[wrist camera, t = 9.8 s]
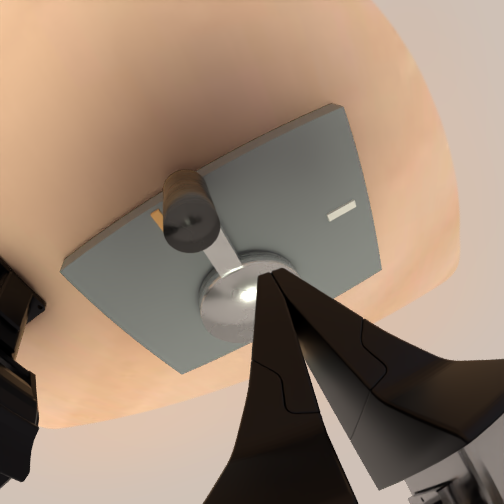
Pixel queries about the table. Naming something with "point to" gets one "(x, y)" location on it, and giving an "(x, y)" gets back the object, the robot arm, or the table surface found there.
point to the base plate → (238, 236)
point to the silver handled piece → (215, 258)
